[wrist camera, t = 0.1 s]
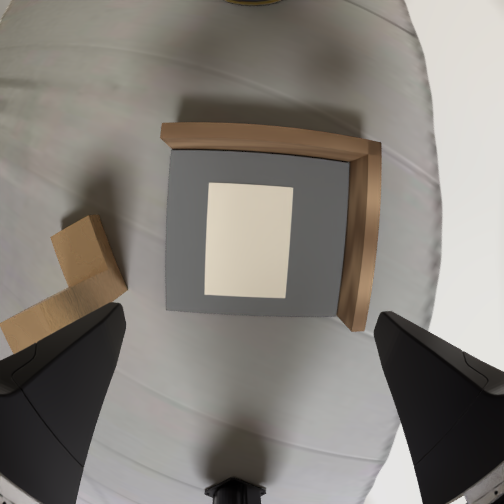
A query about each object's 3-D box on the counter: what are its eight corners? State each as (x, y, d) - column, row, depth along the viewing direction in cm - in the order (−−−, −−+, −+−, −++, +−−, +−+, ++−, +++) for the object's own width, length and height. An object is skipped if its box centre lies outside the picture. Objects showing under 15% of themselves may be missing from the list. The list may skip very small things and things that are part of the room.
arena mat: (334, 315, 25) (336, 316, 25) (167, 308, 25) (165, 310, 24) (347, 163, 24) (349, 162, 23) (171, 151, 23) (170, 150, 22)
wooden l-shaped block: (127, 289, 24) (58, 344, 12) (89, 305, 24) (15, 357, 12) (98, 214, 23) (10, 221, 11) (61, 235, 23) (-26, 252, 11)
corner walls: (347, 314, 26) (364, 331, 22) (167, 308, 25) (155, 325, 21) (361, 151, 23) (381, 142, 19) (173, 136, 22) (161, 122, 19)
